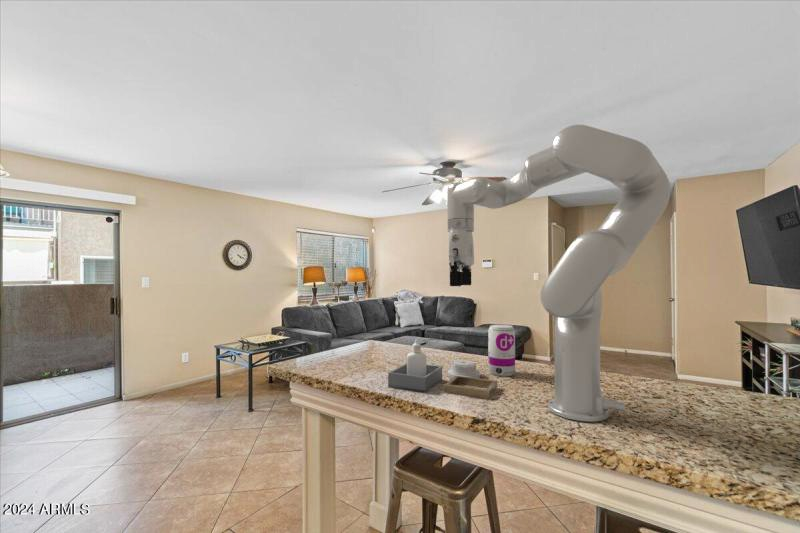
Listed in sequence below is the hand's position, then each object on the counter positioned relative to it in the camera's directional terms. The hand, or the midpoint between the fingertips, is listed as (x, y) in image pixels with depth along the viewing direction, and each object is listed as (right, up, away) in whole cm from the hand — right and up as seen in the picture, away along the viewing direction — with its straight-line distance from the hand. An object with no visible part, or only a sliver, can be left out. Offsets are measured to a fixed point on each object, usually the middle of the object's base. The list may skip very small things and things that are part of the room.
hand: (460, 285), depth 105 cm
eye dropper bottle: (-13, -28, 0) cm, 31 cm away
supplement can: (+15, -29, +11) cm, 34 cm away
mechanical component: (+2, -29, +8) cm, 30 cm away
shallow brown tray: (+2, -28, -6) cm, 29 cm away
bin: (-13, -28, 0) cm, 31 cm away
